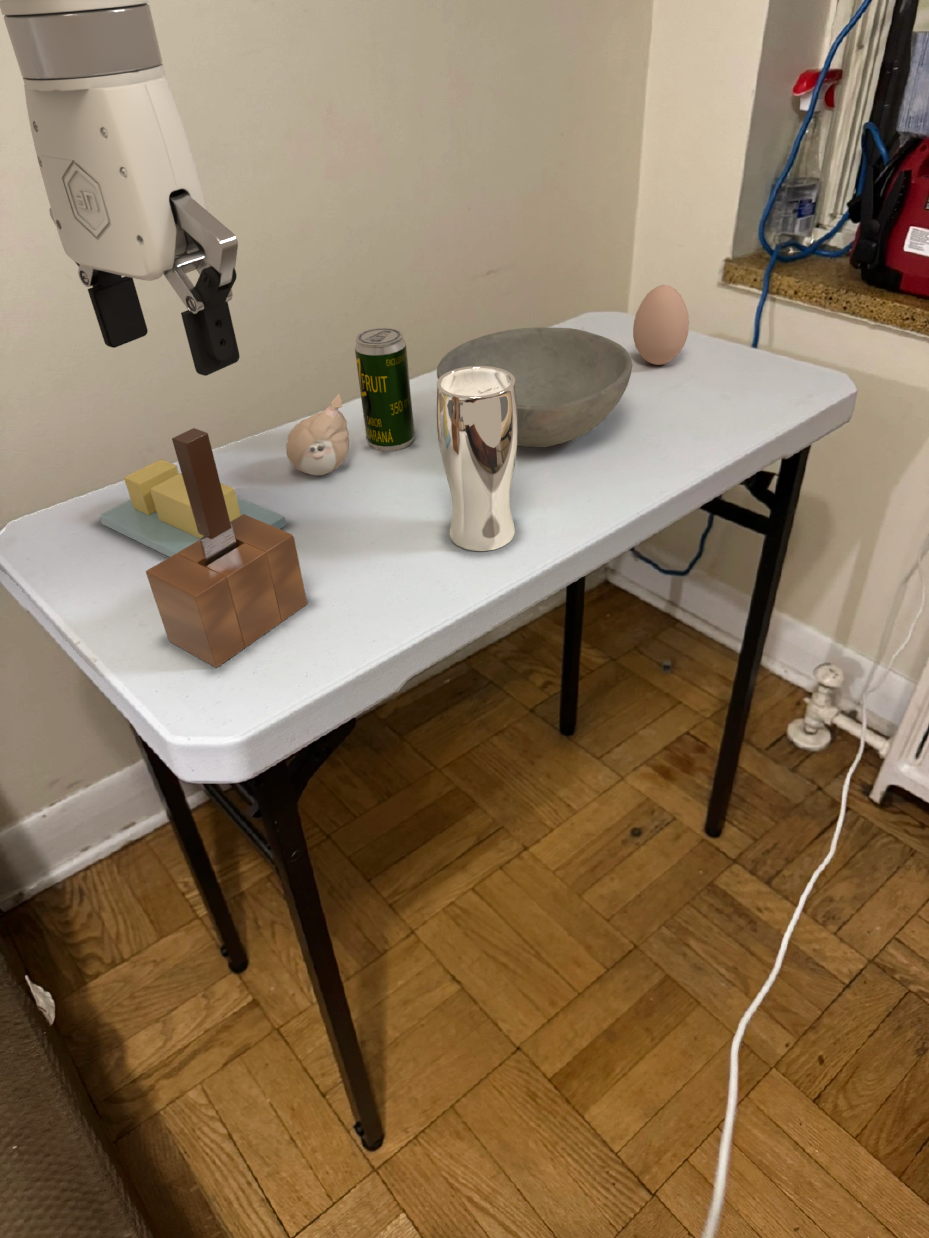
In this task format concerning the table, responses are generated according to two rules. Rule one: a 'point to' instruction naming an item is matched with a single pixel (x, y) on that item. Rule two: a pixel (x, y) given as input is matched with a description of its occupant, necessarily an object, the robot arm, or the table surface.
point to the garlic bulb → (319, 441)
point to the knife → (205, 494)
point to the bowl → (552, 378)
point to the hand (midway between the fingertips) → (171, 353)
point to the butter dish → (167, 536)
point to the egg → (661, 325)
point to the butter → (185, 504)
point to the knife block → (229, 591)
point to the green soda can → (385, 388)
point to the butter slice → (148, 484)
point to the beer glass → (478, 453)
